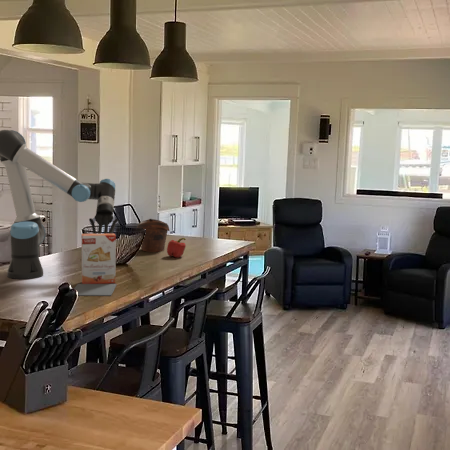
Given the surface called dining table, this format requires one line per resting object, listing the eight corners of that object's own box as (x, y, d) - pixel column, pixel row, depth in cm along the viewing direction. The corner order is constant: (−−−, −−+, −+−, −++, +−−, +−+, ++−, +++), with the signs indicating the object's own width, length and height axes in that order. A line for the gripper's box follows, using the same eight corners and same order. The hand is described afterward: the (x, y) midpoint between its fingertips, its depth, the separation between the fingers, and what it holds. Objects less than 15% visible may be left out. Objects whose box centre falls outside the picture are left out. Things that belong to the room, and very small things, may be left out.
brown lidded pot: (151, 246, 369) (151, 215, 367) (176, 250, 357) (176, 219, 354) (128, 250, 356) (128, 218, 353) (153, 254, 343) (153, 221, 341)
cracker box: (82, 285, 262) (81, 235, 259) (81, 282, 268) (81, 233, 265) (116, 283, 265) (116, 234, 263) (114, 280, 271) (114, 232, 269)
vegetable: (181, 254, 342) (181, 236, 341) (190, 257, 334) (190, 238, 332) (163, 256, 336) (163, 237, 335) (172, 259, 328) (172, 240, 326)
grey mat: (69, 295, 242) (69, 294, 242) (78, 284, 262) (78, 283, 262) (111, 295, 243) (111, 294, 243) (116, 284, 263) (116, 283, 263)
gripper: (89, 202, 282) (84, 245, 267) (119, 203, 283) (115, 245, 268) (91, 213, 288) (86, 255, 273) (120, 213, 289) (116, 255, 274)
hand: (100, 250), depth 271 cm, fingers closed
